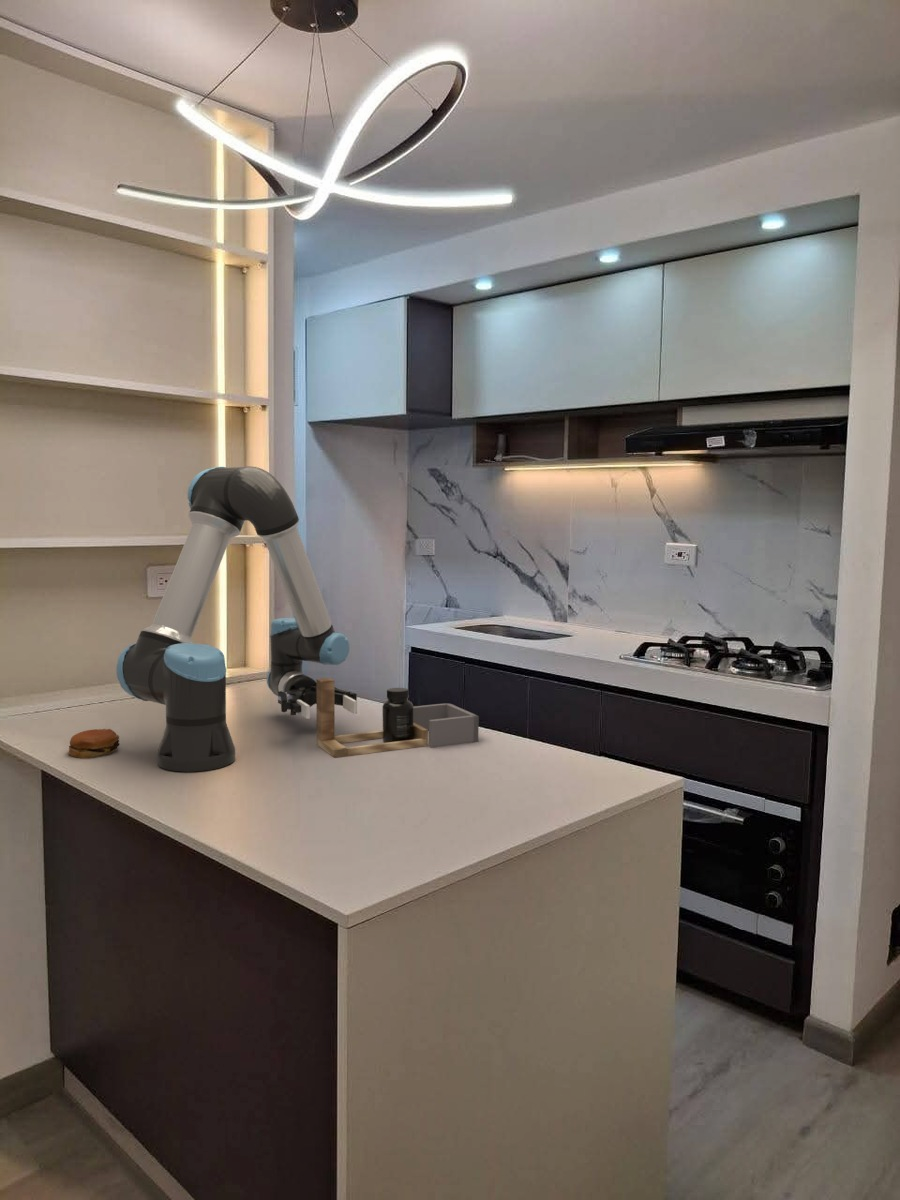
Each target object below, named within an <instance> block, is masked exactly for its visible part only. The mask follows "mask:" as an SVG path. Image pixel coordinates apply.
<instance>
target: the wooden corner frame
mask: <svg viewBox="0 0 900 1200" xmlns="http://www.w3.org/2000/svg"><path fill="white" fill-rule="evenodd" d="M315 681H316V692H317V704H316V745H317V746H318V747H319V748H321V750H323V751H324V752H326V753H327V754H329V755H330V756H332V758H342V757H350V756H351V757H352V756H357V755H365V754H371V753H381V752H390V751H396V750H398V751H399V750H406V749H412V748H419V747H420V748H421V747H427V746H428V747H429V731H428V730H427V729H425V728H423V727H421V726H419V725H417V724H415V723H413V732H414V736H413V740H405V741H396V742H388V743H383V742H381V743H380V742H379V743H374V744H366V745H355V746H348V747H346V746H345V745H343V744H344V743H353V742H355V743H356V742H361V741H370V740H378V739H383V729H382V730H375V731H366V732H358V733H357V732H356V733H348V734H339V735H335V734H336V733H335V723H336V722H335V719H336V718H335V713H336V712H335V704H334V687H335V680H334V679H333V678H330V677H325V678H316V680H315Z"/></svg>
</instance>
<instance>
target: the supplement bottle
mask: <svg viewBox="0 0 900 1200" xmlns="http://www.w3.org/2000/svg"><path fill="white" fill-rule="evenodd" d="M409 692H410V691H409V689H408V688H406V687H392V688H388V689H386V701H384V703H383V705H382V709H381V710H382V730H383V738H382V743H388V742H396V741H405V740H413V736H414V732H413V707H414V704H413V702H412V701H410V700H409V699H410V695H409Z"/></svg>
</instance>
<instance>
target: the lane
mask: <svg viewBox="0 0 900 1200" xmlns="http://www.w3.org/2000/svg"><path fill="white" fill-rule="evenodd" d="M479 717H480V716H479V715H477V714H475V713H473V712H470V711H468V710H466V709H465V708H464V709H463V708H461V707H459V706H457V705H455V704H452V703H450V702H447V703H446V702H445V703H436V704H435V703H434V704H426V705H415V706H413V723H415V724H417V725H419V726H421V727H423V728H425V729H427V730H428V747H429V748H431V749H432V748H433V749H434V748H440V747H441V748H442V747H448V746H457V745H464V744H472V743H479V722H480V721H479V719H480V718H479Z"/></svg>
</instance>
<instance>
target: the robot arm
mask: <svg viewBox="0 0 900 1200" xmlns="http://www.w3.org/2000/svg"><path fill="white" fill-rule="evenodd" d="M187 500H188V501H189V502H188V506H189V509H190V510H189V512H188V518H189V520H190V521H191V527H190V529H189V532H188V534H187V536H186V539H185V542H184V544H183V546H182V550H181V552H180V553H179V557H178V559H177V562H176V564H175V566H174V569H173V572H172V574H171V576H170V578H169V582H168V584H167V587H166V588H165V591H164V593H163V596H162V598H161V601H160V603H159V606H158V608H157V610H156V613H155V616H154V618H153V621H152V623H151V625H150V626H148V627H145V628H143V629H141V630H140V633H139V635H138V638H137V640H136V642H135V643H132V644H130V645H128V646H127V647H125V648H124V649H123V650H122V651H121V653H120V655H119V656H118V659H117V662H116V666H115V667H116V669H115V670H116V678H117V680H118V683H119V685H120V687H121V688H122V690H123V691H124V692H125V693H127V694H129V695H130V696H131V697H134V698H136V699H138V700H140V701H143V702H152V703H157V704H161V705H165V721H166V722H165V728H164V732H163V735H162V738H161V742H160V744H159V748H158V752H157V765H158V767H160V768H161V769H164V770H168V771H174V772H186V773H187V772H202V771H203V772H206V771H211V770H215V769H220V768H223V767H227V766H229V765H231V764H233V763H234V762H235V761H236V747H235V744H234V741H233V738H232V735H231V733H230V729H229V727H228V725H227V712H226V711H227V707H226V705H227V694H226V693H227V686H226V685H227V684H226V683H227V682H226V680H227V667H226V661H225V655H224V653H223V652H222V651H221V650H220V648H217V647H215V646H212V645H208V644H203V643H194V642H193V641H192V637H193V634H194V632H195V629H196V626H197V624H198V621H199V620H200V617H201V615H202V612H203V609H204V607H205V604H206V601H207V599H208V596H209V593H210V591H211V588H212V586H213V583H214V581H215V579H216V577H217V576H216V575H217V572H218V571H219V568H220V565H221V563H222V560H223V558H224V556H225V555H224V554H225V552H226V550H227V548H228V546H229V545H228V544H229V543H230V540H231V539H232V538H236V537H238V536H240V533H241V531H242V528H243V527H244V523H245V521H248V522H249V523H250V524H251V525H252V526H253V528H254V530H255V532H256V534H257V535H256V536H258V537H260V538H263V540H264V542H265V545H266V547H267V550H268V553H269V556H270V558H271V560H272V563H273V566H274V568H275V571H276V574H277V577H278V578H279V581H280V584H281V586H282V590H283V591H284V594H285V596H286V599H287V602H288V605H289V607H290V610H291V612H292V615H293V617H280V618H274V619H273V620H272V621H271V625H270V636H269V638H270V670H269V671H268V673H267V675H266V685H267V687H268V689H269V690H270V691H271V692H272V693H273V694H274V695H275V696H277V703H278V704H280V707H281V712H282V713H286V712H288V711H290V716H296V715H297V714H299V715H300V716H302V717H303V718H304V719H305V720H306V719H309V720H310V718H311V713H310V712H311V711H310V710H311V707H312V706H314V705H317V692H316V680H315V679H313V678H312V677H310V676H309V675H306V674H304V673H303V661H304V662H309V663H310V662H311V663H317V664H322V665H327V666H339V665H341V664H342V663H343V664H344V662H345V660H347V658H348V656H349V653H350V642H349V639H348V637H346V636H345V635H344V634H343V633H340V632H337V631H336V632H335V628H334V626H333V622H332V620H331V616H330V614H329V611H328V609H327V606H326V603H325V601H324V598H323V596H322V592H321V590H320V587H319V585H318V582H317V578H316V575H315V574H314V573H315V572H314V571H313V568H312V565H311V563H310V560H309V557H308V554H307V552H306V549H305V546H304V542H303V540H302V538H301V535H300V532H299V529H298V525H299V522H300V518H299V516H298V513H297V511H296V508H295V505H294V503H293V502H292V500H291V497H290V496H289V494H288V492H287V491H286V490H285V488H284V486H283V485H282V484H281V482H280V481H279V480H278V479H277V478H276V477H275V476H274V475H273V474H271V473H270V472H269V471H267V470H266V469H263V468H261V467H257V466H238V467H235V466H234V467H225V466H215V467H211V468H207V469H204V470H202V471H200V472H198V473H197V474H196V475H195V476H194V477H193V479H192V480H191V481H190V483H189V486H188V490H187ZM357 697H358V696H357V693H355V692H351V691H349V690H348V691H347V690H344V689H339V688H338V687H335V686H334V706H341V707H342V709H344V710H346V711H348V712H349V713H352V714H353V715H355V714H358V701H357Z"/></svg>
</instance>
